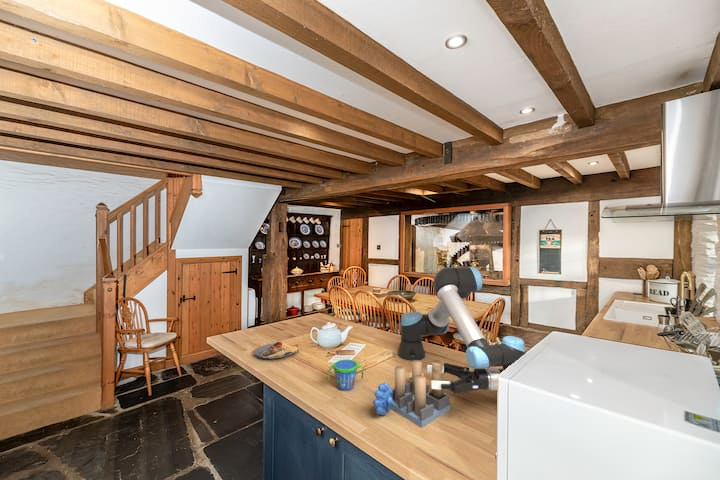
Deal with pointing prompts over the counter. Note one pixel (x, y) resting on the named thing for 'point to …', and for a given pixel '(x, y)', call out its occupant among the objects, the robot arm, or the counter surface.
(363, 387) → the counter surface
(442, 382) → the robot arm
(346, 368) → the snack cup
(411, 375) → the tiered building model
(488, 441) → the counter surface
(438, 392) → the loose leg
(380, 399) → the grapes
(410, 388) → the stool
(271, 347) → the food plate
